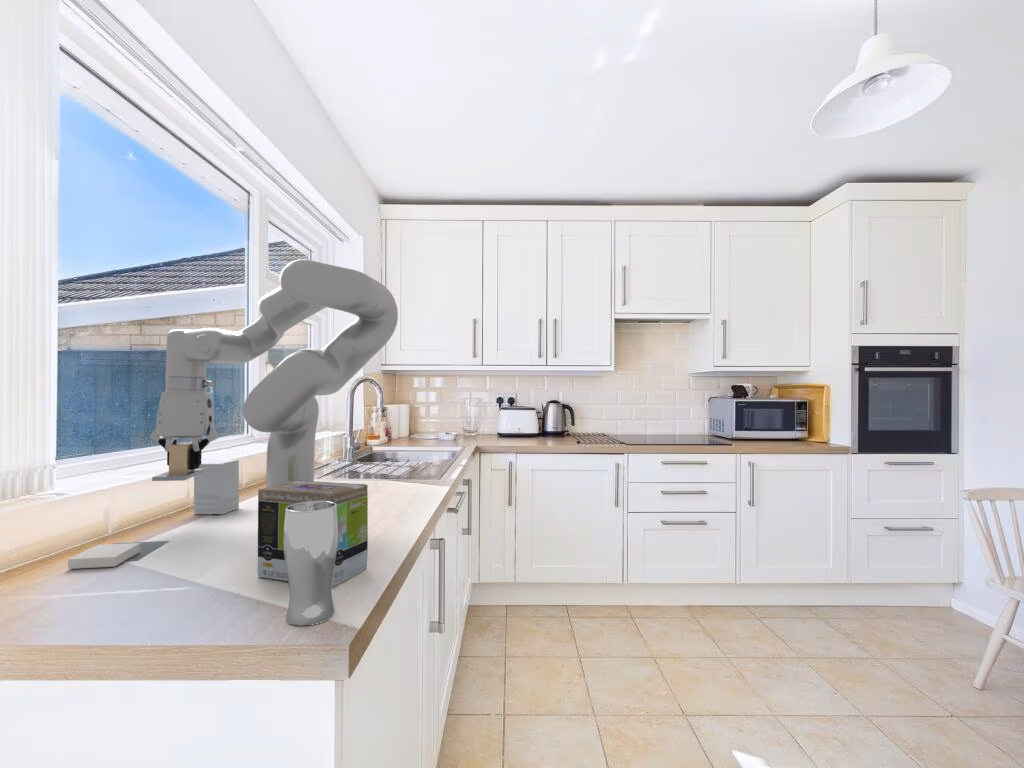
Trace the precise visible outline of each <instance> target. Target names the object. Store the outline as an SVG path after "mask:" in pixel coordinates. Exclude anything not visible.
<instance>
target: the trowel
mask: <svg viewBox="0 0 1024 768" xmlns="http://www.w3.org/2000/svg"><path fill="white" fill-rule="evenodd" d="M192 451H193V445H192V442H190V443H189V442H188V443H185V442H183V443H181V442H178V443H177V444H173V445H169V466H168V471H165V472H163V473H160V474H157V475H154V476H152V477H151V481H152V482H169V481H170V482H175V481H176V482H177V481H183V482H184V481H186V480H189V479H191V478H194V476H196V475H198V474H201V473H203V472H204V469H195V470H191V469H190V453H191V452H192Z"/></svg>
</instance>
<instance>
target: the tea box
mask: <svg viewBox="0 0 1024 768" xmlns="http://www.w3.org/2000/svg"><path fill="white" fill-rule="evenodd" d="M368 488H369V487H368V484H367V483H366V484H364V483H348V482H347V483H346V482H331V481H315V480H314V481H295V482H290V483H286V484H281V485H277V486H272V487H267V488H266V487H264V488H260V489H257V490H258V494H257V497H258V498H257V499H258V501H257V577H258V578H265V579H269V580H278V581H284V582H289V580H288V575H287V569H286V564H285V557H284V549H283V533H284V520H285V508H286V507H287V506H289V505H291V504H295V503H300V502H307V501H331V502H335V503H336V504H337V518H338V546H337V554H336V560H335V565H334V570H333V576H332V584H331V589H332V588H333V587H334V588H335V586H338V585H340V584H342V583H344V582H346V581H348V580H350V579H352V578H353V577H355V576H357V575H358V574H361V573H362V572H363V571H366V570H367V567H368V552H369V551H368V547H369V545H368V544H369V543H368V536H369V533H368V529H369V527H368V522H369V518H368V516H369V515H368V514H369V513H368V511H369V509H368V505H369V504H368V503H369V502H368V501H369V499H368V498H369V497H368V496H369V495H368V491H369V490H368Z"/></svg>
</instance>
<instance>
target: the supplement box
mask: <svg viewBox="0 0 1024 768" xmlns="http://www.w3.org/2000/svg"><path fill="white" fill-rule="evenodd" d="M239 463H240V461H239V459H210V460H205V461H201V465H199V468H197V469H204V472H203V473H201V474H198V475H196V476H194V477H193V514H194V515H212V514H219V516H220V514H221V515H225V514H227V513H229V511H230V512H233V511H236V510H238V509H239V507H240V504H239V503H240V501H239V500H240V493H239V492H240V490H239V489H240V487H239V486H240V482H239V481H240V479H239V478H240V476H239V474H240V470H239V469H240V466H239ZM235 509H236V510H235ZM232 510H233V511H232Z"/></svg>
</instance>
